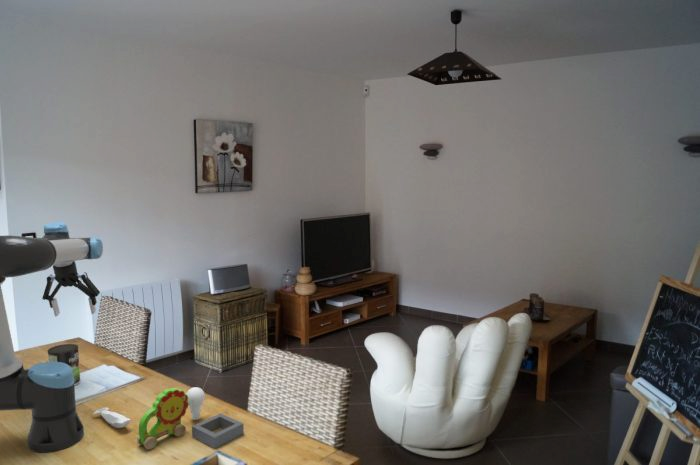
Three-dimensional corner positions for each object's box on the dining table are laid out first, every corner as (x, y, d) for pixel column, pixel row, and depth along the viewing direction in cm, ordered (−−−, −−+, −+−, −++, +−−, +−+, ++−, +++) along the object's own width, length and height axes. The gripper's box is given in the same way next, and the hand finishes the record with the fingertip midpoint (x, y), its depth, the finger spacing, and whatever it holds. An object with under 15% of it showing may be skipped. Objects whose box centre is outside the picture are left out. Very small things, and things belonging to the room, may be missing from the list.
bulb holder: (214, 448, 158) (214, 437, 158) (192, 437, 165) (191, 426, 165) (243, 434, 167) (243, 423, 167) (221, 423, 174) (220, 413, 173)
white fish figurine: (118, 435, 166) (118, 423, 166) (92, 419, 178) (91, 407, 177) (135, 428, 170) (134, 416, 170) (108, 413, 182) (108, 402, 181)
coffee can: (85, 378, 210) (83, 343, 209) (71, 389, 200) (69, 353, 198) (59, 378, 211) (57, 343, 209) (44, 389, 200) (41, 352, 199)
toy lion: (146, 452, 157) (143, 403, 155) (136, 446, 160) (133, 398, 158) (192, 431, 169) (190, 385, 167) (182, 426, 172) (180, 381, 170)
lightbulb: (208, 415, 179) (207, 384, 178) (201, 424, 173) (200, 392, 172) (190, 415, 180) (189, 383, 178) (183, 423, 174) (181, 391, 172)
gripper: (101, 257, 204) (112, 306, 211) (33, 261, 202) (46, 310, 209) (94, 265, 197) (105, 316, 204) (24, 269, 195) (37, 320, 202)
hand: (75, 313), depth 207 cm, fingers open, 13 cm apart
